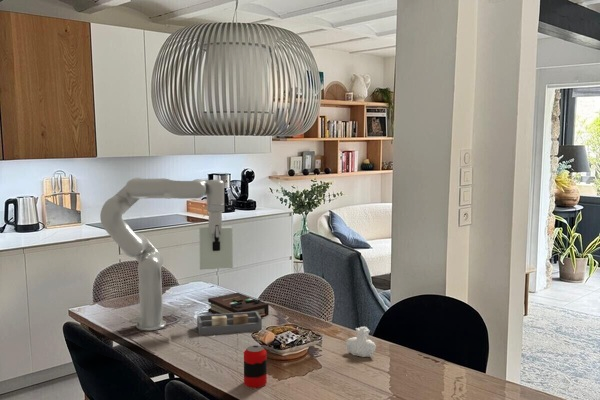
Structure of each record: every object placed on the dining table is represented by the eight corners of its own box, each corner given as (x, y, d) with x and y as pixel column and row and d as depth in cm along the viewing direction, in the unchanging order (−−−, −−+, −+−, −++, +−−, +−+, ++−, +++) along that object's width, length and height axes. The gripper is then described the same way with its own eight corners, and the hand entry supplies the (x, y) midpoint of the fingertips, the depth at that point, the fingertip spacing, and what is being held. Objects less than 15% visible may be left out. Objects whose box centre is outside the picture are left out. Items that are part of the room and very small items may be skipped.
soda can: (266, 378, 192) (266, 344, 191) (266, 388, 185) (266, 352, 184) (244, 378, 192) (244, 344, 191) (243, 388, 185) (243, 352, 183)
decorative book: (237, 289, 281) (273, 302, 258) (237, 304, 281) (273, 318, 258) (203, 296, 268) (238, 310, 245) (203, 311, 269) (238, 327, 246)
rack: (199, 337, 232) (199, 323, 232) (197, 329, 242) (197, 315, 242) (261, 332, 239) (261, 318, 238) (257, 324, 249) (256, 311, 249)
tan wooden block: (234, 330, 237) (234, 317, 237) (233, 328, 240) (232, 314, 240) (248, 329, 239) (248, 315, 238) (247, 327, 242) (246, 313, 241)
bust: (376, 362, 213) (383, 334, 218) (370, 355, 207) (377, 326, 212) (346, 356, 218) (354, 329, 223) (340, 349, 213) (348, 321, 218)
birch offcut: (212, 332, 235) (212, 318, 234) (211, 330, 238) (211, 316, 237) (226, 331, 237) (226, 317, 236) (226, 329, 240) (225, 315, 239)
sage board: (200, 269, 245) (199, 228, 243) (199, 268, 247) (199, 227, 245) (232, 267, 249) (232, 227, 247) (231, 266, 251) (231, 226, 249)
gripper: (205, 206, 252) (205, 247, 254) (208, 210, 237) (209, 254, 238) (221, 206, 254) (222, 246, 256) (226, 210, 238) (227, 253, 240)
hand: (215, 249), depth 247 cm, fingers closed on sage board, 2 cm apart
